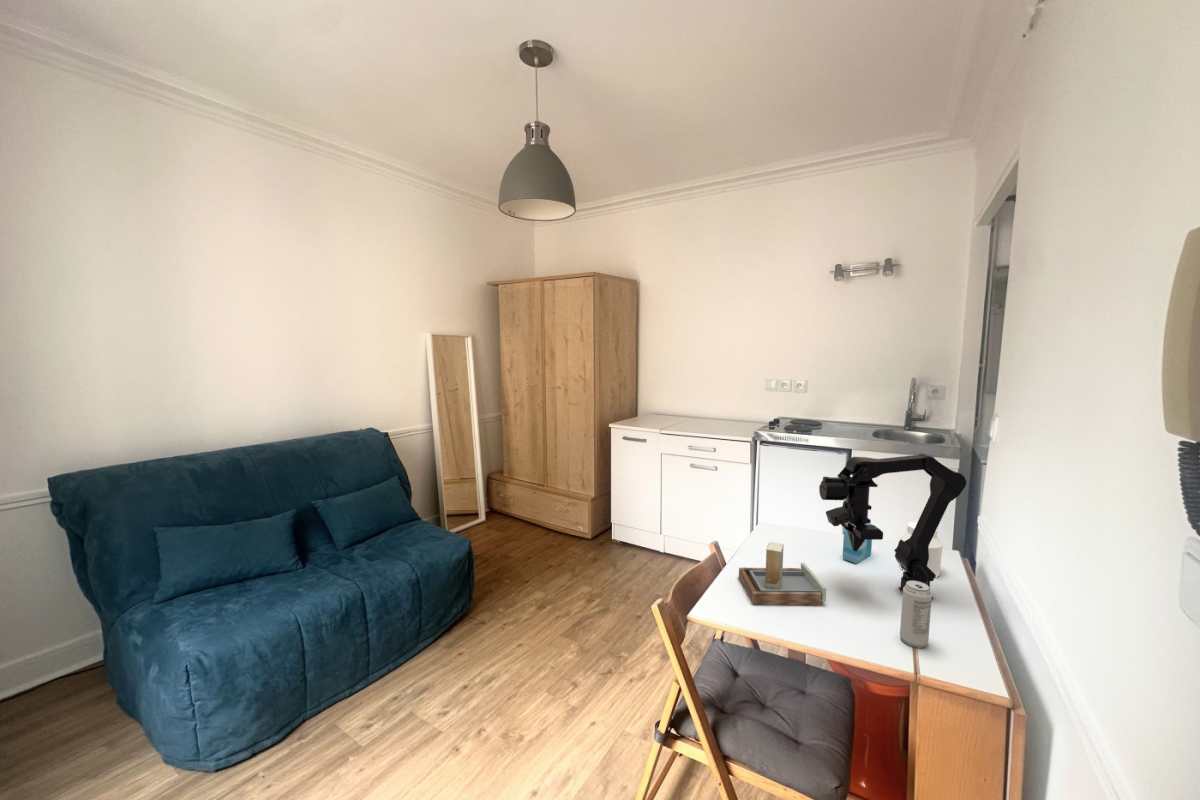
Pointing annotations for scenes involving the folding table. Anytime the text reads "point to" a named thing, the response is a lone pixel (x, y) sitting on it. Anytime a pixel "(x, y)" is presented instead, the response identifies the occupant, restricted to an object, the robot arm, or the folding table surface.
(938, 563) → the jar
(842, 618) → the folding table surface
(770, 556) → the skincare box
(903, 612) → the energy drink can
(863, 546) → the blue printed box
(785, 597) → the caddy
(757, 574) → the tray
